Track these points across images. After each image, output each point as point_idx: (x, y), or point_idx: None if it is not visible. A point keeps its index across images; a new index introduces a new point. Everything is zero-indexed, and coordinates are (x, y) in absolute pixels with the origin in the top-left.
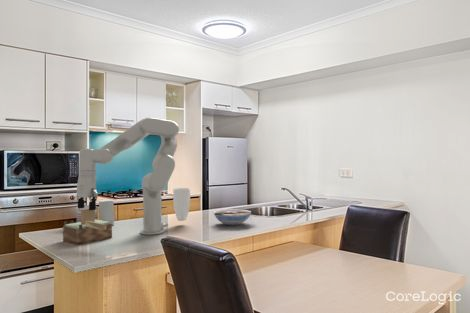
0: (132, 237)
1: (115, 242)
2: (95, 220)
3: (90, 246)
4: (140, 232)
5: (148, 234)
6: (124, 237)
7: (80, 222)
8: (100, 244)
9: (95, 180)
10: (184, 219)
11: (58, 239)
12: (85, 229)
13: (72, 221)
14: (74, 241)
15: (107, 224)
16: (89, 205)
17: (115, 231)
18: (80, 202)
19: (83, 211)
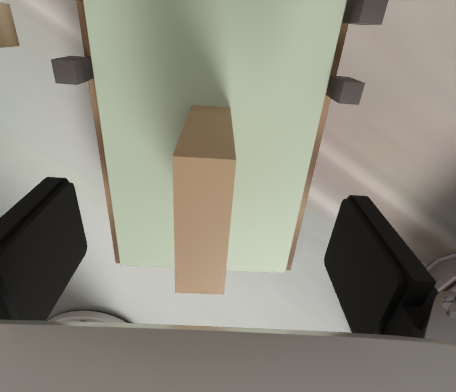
0: None
1: (19, 158)
2: (256, 249)
3: (16, 4)
4: (112, 318)
5: (58, 315)
6: (98, 244)
7: (292, 145)
8: (28, 80)
9: None
10: None
11: (393, 13)
12: (87, 47)
13: (341, 90)
14: None
15: (114, 237)
16: (9, 214)
17: (250, 293)
18: (370, 275)
19: (175, 149)
